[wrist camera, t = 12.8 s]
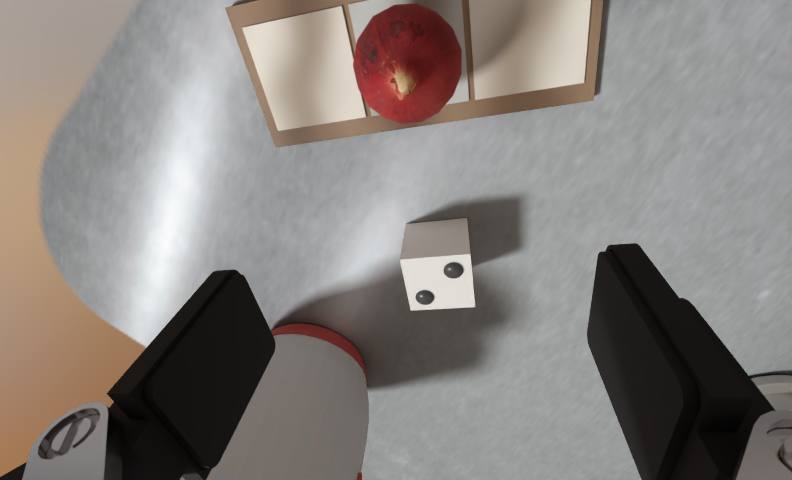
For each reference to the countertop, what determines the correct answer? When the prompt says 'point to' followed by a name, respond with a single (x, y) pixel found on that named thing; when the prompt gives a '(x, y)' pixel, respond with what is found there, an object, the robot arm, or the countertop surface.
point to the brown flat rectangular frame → (477, 35)
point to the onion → (407, 63)
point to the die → (437, 265)
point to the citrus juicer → (303, 413)
